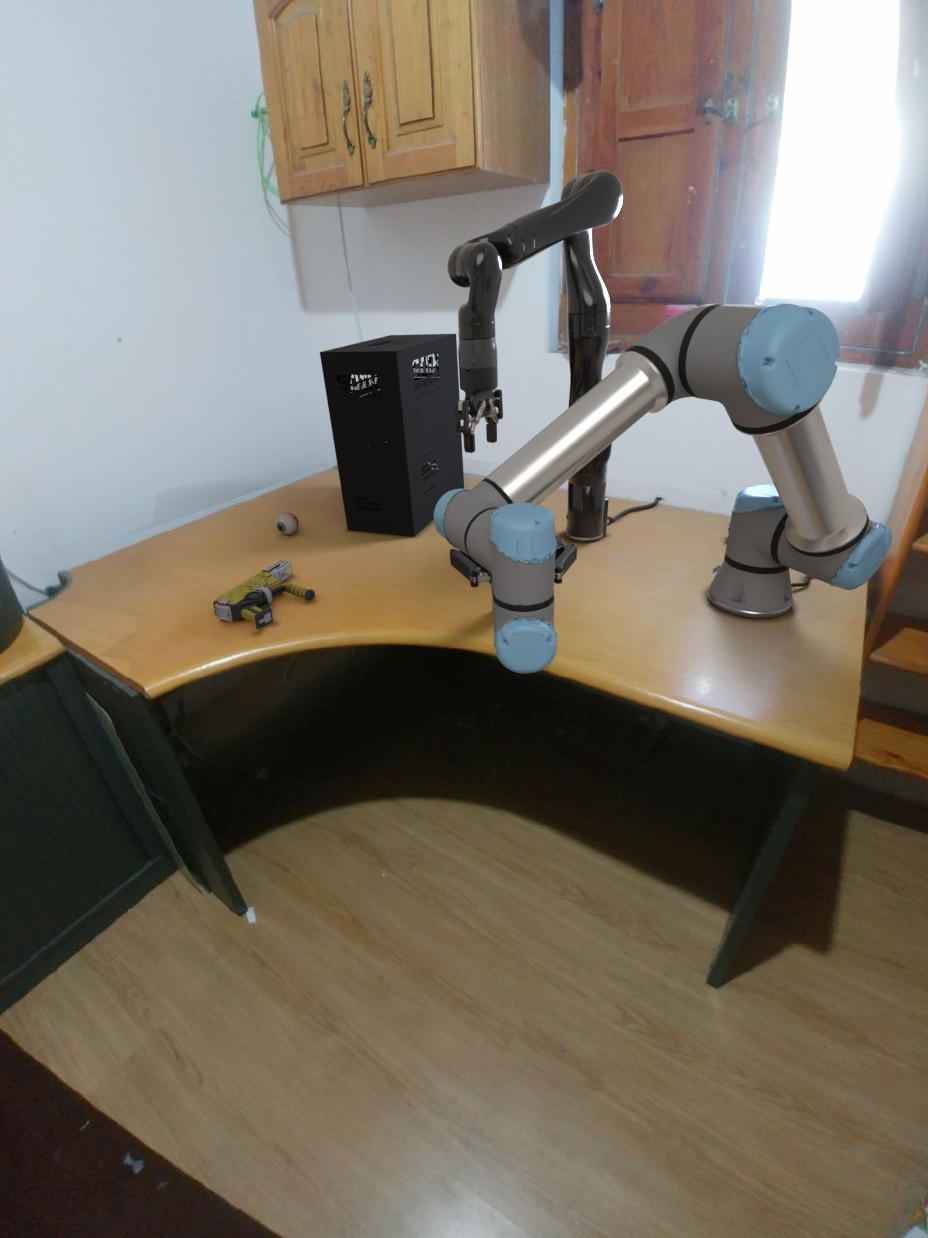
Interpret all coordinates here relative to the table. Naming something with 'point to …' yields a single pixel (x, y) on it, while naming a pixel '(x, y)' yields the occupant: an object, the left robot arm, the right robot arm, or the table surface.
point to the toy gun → (258, 596)
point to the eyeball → (287, 523)
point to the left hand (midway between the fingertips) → (481, 447)
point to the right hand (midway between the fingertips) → (510, 535)
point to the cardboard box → (394, 429)
